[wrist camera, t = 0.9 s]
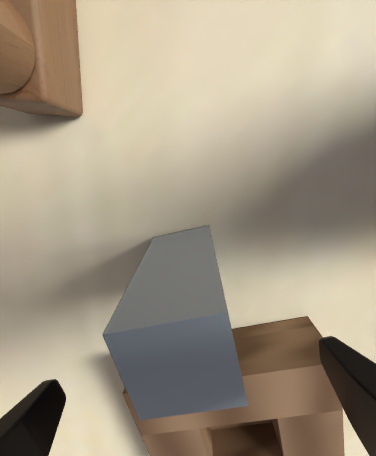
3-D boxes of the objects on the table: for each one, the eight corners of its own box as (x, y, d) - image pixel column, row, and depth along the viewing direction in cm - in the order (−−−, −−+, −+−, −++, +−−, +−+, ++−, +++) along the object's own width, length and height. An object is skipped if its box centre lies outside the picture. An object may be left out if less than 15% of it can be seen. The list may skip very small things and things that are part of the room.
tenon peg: (208, 225, 15) (227, 312, 6) (219, 275, 16) (248, 405, 8) (153, 237, 15) (102, 334, 7) (168, 285, 17) (139, 420, 8)
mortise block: (307, 316, 17) (340, 361, 13) (318, 434, 21) (346, 495, 17) (137, 345, 18) (122, 394, 15) (178, 451, 22) (174, 511, 19)
